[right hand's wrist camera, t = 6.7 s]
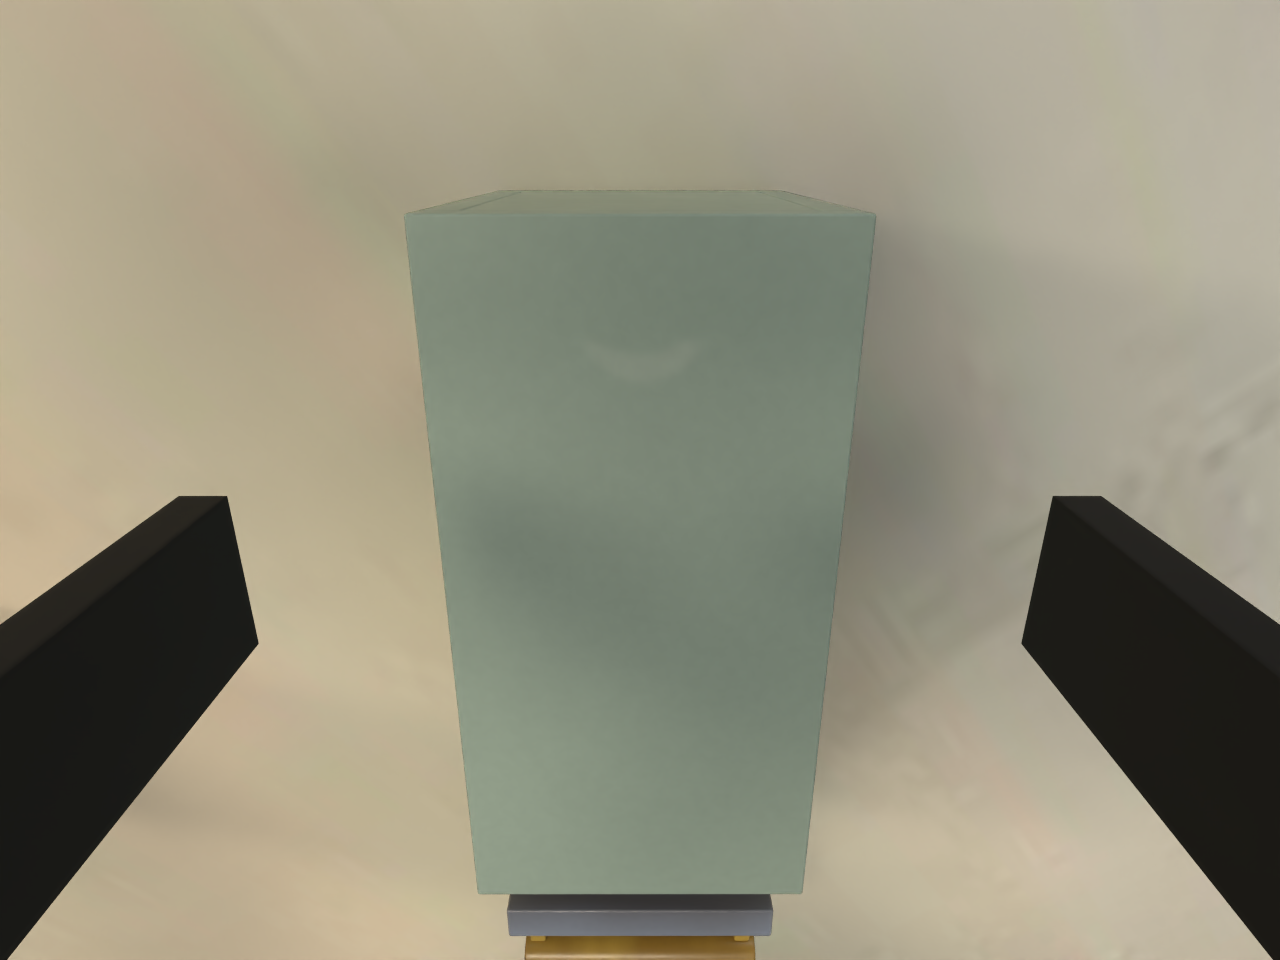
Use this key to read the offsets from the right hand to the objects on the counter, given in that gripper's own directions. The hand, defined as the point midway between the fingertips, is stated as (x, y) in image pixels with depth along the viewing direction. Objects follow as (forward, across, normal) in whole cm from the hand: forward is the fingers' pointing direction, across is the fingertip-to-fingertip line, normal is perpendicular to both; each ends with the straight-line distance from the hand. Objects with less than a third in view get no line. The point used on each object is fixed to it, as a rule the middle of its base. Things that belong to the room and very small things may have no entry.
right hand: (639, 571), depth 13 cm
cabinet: (+18, 0, -4) cm, 18 cm away
